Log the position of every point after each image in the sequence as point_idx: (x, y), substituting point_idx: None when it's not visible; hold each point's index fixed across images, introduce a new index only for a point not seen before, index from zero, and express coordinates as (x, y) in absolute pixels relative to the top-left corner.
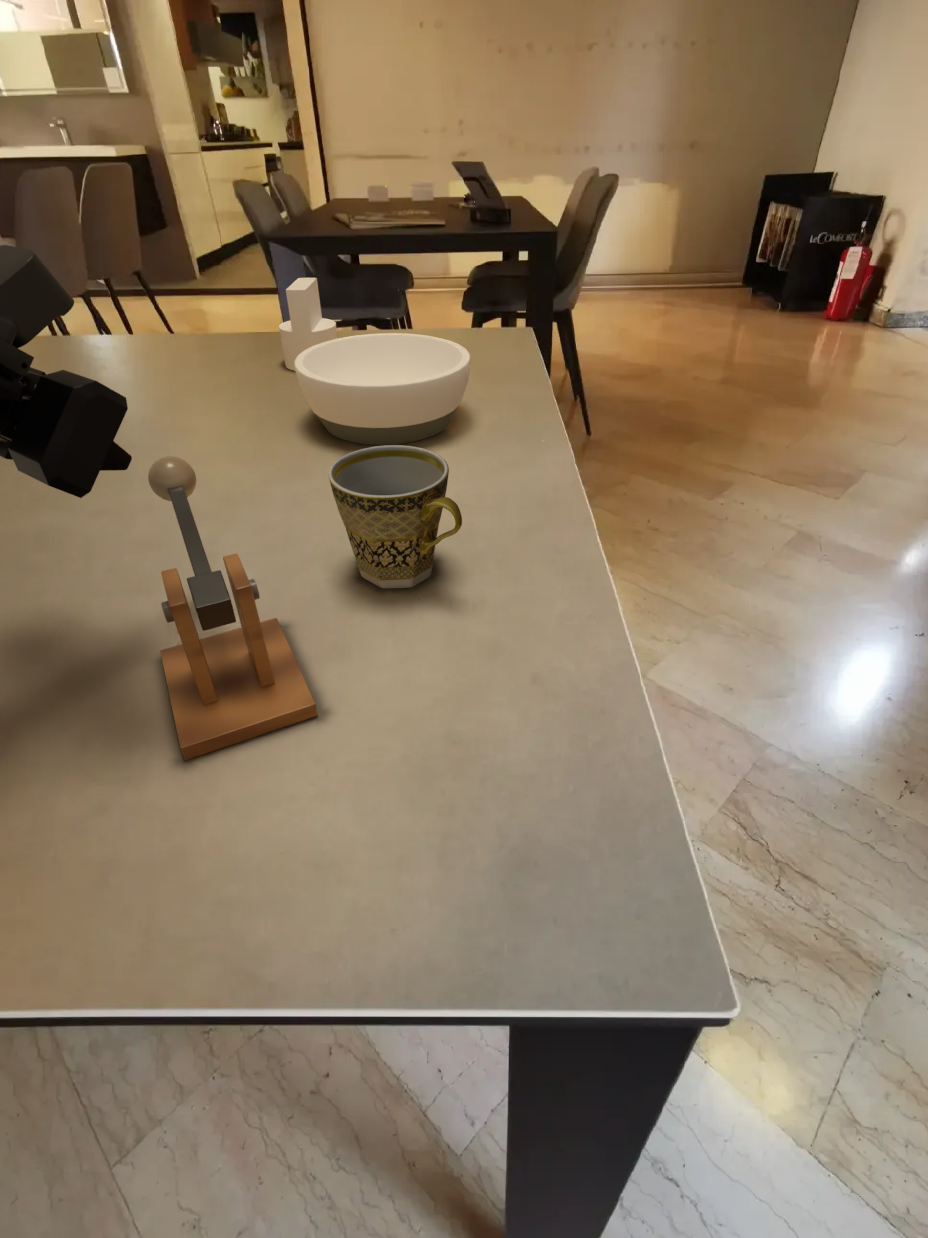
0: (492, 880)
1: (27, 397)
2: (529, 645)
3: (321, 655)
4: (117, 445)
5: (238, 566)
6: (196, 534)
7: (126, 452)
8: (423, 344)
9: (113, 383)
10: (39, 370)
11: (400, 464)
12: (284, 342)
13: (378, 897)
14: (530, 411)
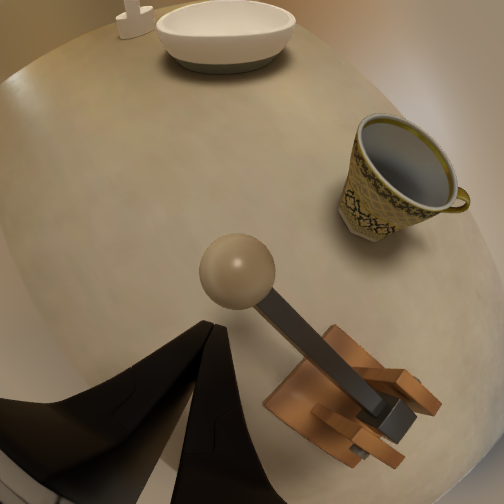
0: (488, 414)
1: (67, 501)
2: (466, 268)
3: (379, 339)
4: (232, 360)
5: (419, 387)
6: (344, 364)
7: (228, 338)
8: (236, 4)
9: (24, 96)
10: (9, 457)
11: (379, 128)
12: (120, 25)
13: (460, 450)
14: (312, 41)
